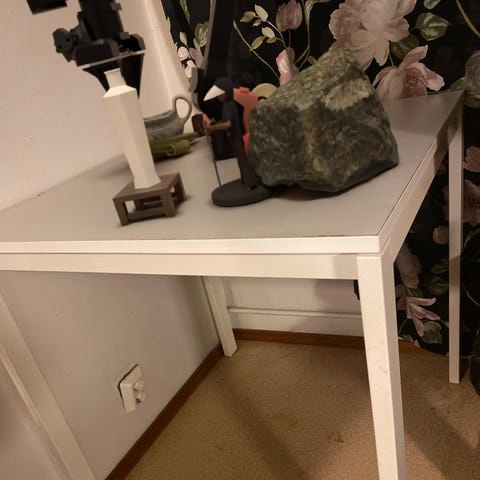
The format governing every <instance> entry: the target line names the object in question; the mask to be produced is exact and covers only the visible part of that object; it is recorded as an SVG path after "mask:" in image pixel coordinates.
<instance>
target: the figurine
mask: <svg viewBox="0 0 480 480" xmlns="http://www.w3.org/2000/svg"><path fill="white" fill-rule="evenodd" d="M215 96H218V97H219V99H220V100H221V101H225V103H224V104H223V106H222V120H221V121H219V122H218V123H217V124H216V125H213V126H211V125H207V122H206V120H204V129H205V130H204V134H205V136H206V140H207V142H208V147H209V150H210V153H211V154H210V155H211V158H212V163H213V167H214V170H215V174H216V175H215V176H216V178H217V183H218V187H216V188H214V189H213V190H212V191H211V193H210V196H211V200H212V203H213V204H214V205H217V206H221V207H229V206H230V207H233V206H241V205H247V204H251V203H256V202H258V201H262V200H264V199H267V198H269V197H271V196H273V195H275V194H277V193H279V192H280V191H281V190H282V188H283V183H280V184H278V185H276V186H265V185H262V184H260V183H259V182H258V181H256V179H255V177H254V175H253V173H252V171H251V167H250V164H249V161H248V157H247V153H246V151H245V147H244V146H245V143H244V139H243V135H242V131H241V127H240V122H239V117H238V110H237V107H236V104H235V101H234V84H233V81H232V80H231V79H230V77H229V78H225V77H224V78H220V79H218V80H217V81H216V82H215V83H214V86H213V87H212V88H211V89H210V91H209V92H208V93H207V95H206V96H205V98H204V101H206V100H208V99H211V98H213V97H215ZM210 129H211V130H210ZM218 129H222V130H225V131H226V132H227V138H228V140H230V143H231V146H232V148H233V150H234V152H235V155H236V156H235V158H236V162H237V165H238V169H239V174H240V177H239V178H237V179H233V180H230V181H228V182H227V181H226V183H223V184H221V177H220V174H219V170H218V166H217V160H215V156H214V153H213V148H212V143H211V142H212V139H211V137H210V134H211V133H212V132H213V131H216V130H218Z"/></svg>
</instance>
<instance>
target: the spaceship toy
mask: <svg viewBox="0 0 480 480" xmlns="http://www.w3.org/2000/svg"><path fill="white" fill-rule="evenodd" d="M197 137H198V134H197V133H196V132H194V131H191V132H185V133H183V134H179V135H174V136H170V137H165V138H161V139H157V140H154V139H153V138H152V137H149V138H148V141H149V146H150V150H151V154H152V157H154V158H155V159H156V160H159V159H161V158H164V157H169V156H170V157H172V156H180V154H186V153H187V152H190V150H191V143H193V142H194V141H196V138H197Z"/></svg>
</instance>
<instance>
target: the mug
mask: <svg viewBox="0 0 480 480" xmlns="http://www.w3.org/2000/svg"><path fill="white" fill-rule="evenodd" d="M178 100H183V101H184V102H186V103H187V105H188V111H187V114H186V116H184V117H180V115H179V113H178V109H177V101H178ZM171 106H172V107H171V108H170V109H168V110H165V111H163V112H160V113H155V114H152V115H148V116H145V117H143V120H144V124H145V129H146V133H147V137H148V138H149V137H152V138H153V139H154V140H157V139H161V138H165V137H170V136H174V135H179V134H184V132H185V124H186V123H187V122H188V121H189V119H190V118H191V116H192V113H193V103H192V100H191V98H190V97H189V96H188V95H186V94H183V93H178V94H176V95H174V96H173V97H172V100H171Z"/></svg>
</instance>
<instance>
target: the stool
mask: <svg viewBox="0 0 480 480" xmlns="http://www.w3.org/2000/svg"><path fill="white" fill-rule="evenodd" d="M158 177H159V178H160V180H161V182H160V183H158V184H156V185H153V186H151V187H149V188H140V189H135V184H134V180H131V181H129V182H128V183H127V184H126V185H125V186H124V187H122V189H120V191H118V192H117V194H115V195H114V196H113V197H112V198H111V200H112V202H113V205H114V208H115V211H116V214H117V216H118V219H119V222H120V226H128V225H130V224H131V223H132V220H135V219H141V218H145V217H146V218H147V217H151V216H156V215H163V214H165V217H166V219H167V218H172V217H175V216H176V215H177V211H176V207H175V204H174V201H173V199H174V198H175V199H176V201H177V202H178V203H179V202H184V201H186V200H187V194H186V191H185V186H184V183H183V179H182V176H181V172H179V171H178V172H173V173H172V172H171V173H168V174H163V175H158ZM172 190H174V191H172ZM160 201H161V204H162V206H158V207H152V208H147V209H144V208H145V206H146V204H149V203H155V202H160ZM127 202H133V205H134V208H135V210H136V211H130V212H129V210H128V207H127V204H126V203H127ZM140 209H141V210H140Z"/></svg>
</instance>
